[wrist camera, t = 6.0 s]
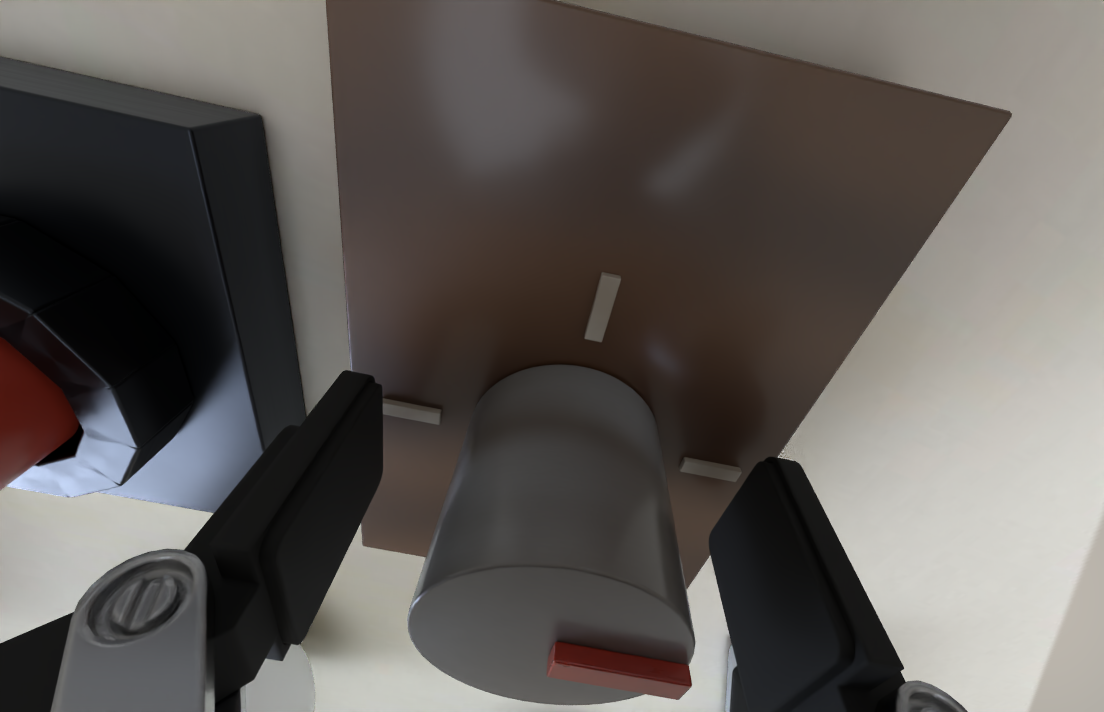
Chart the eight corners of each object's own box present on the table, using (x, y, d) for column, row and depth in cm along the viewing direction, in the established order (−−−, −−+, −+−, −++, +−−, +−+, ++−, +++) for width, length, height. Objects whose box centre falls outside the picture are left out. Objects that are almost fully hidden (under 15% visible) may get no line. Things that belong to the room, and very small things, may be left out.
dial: (461, 482, 12) (395, 701, 8) (482, 343, 9) (403, 559, 5) (625, 514, 12) (641, 743, 8) (687, 388, 10) (755, 625, 6)
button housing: (-220, 6, 10) (-651, -18, 6) (262, 114, 10) (101, 146, 7) (33, 422, 16) (-110, 517, 13) (315, 474, 17) (247, 578, 13)
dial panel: (398, -27, 9) (313, -60, 6) (899, 95, 9) (1025, 113, 6) (396, 471, 16) (359, 551, 14) (665, 521, 17) (679, 608, 14)
